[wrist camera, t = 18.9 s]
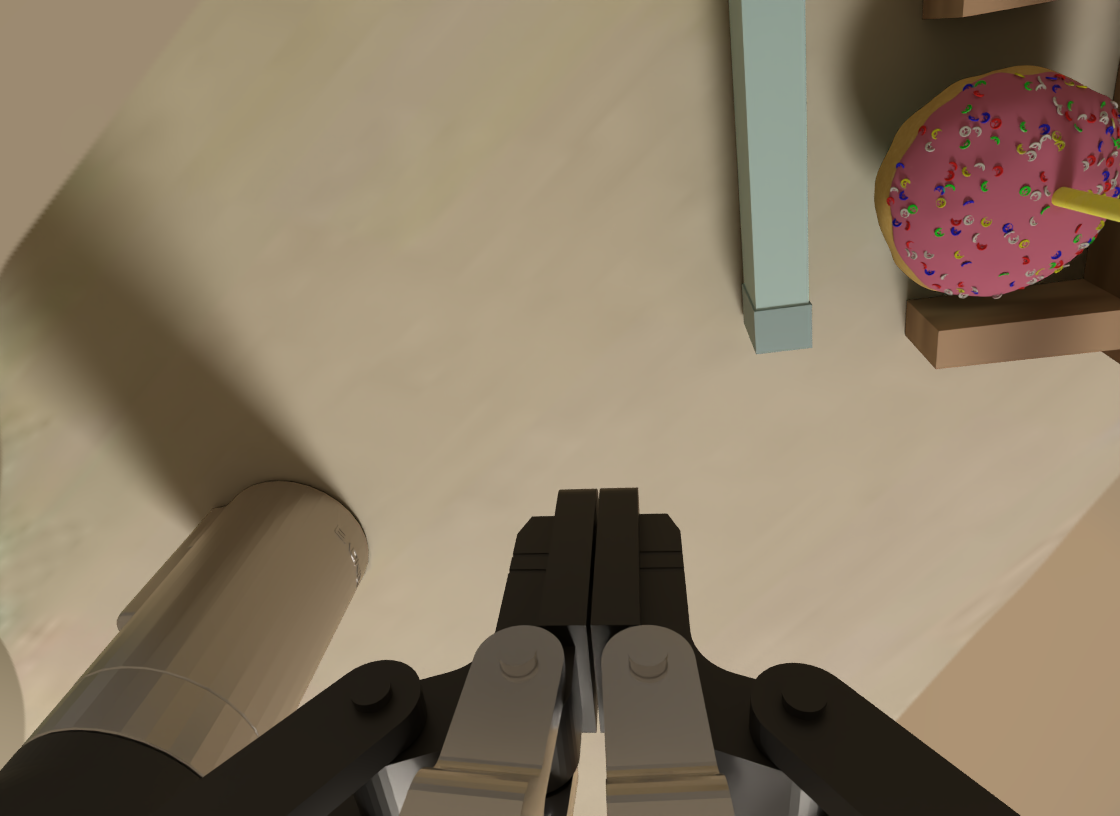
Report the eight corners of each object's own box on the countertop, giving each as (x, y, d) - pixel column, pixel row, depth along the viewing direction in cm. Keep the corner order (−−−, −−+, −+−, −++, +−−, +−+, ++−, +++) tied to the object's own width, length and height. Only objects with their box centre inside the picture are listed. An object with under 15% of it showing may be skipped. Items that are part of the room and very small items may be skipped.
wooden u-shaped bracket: (904, 351, 35) (943, 397, 31) (926, -60, 28) (982, -77, 23) (1110, 328, 34) (1182, 372, 29) (1195, -113, 26) (1310, -142, 22)
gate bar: (726, 0, 29) (738, -5, 25) (787, -12, 28) (808, -19, 25) (744, 322, 35) (756, 354, 32) (794, 316, 35) (812, 347, 31)
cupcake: (1065, 38, 29) (1318, 41, 18) (1049, 243, 32) (1252, 346, 22) (842, 90, 30) (956, 122, 20) (852, 280, 34) (952, 392, 23)
